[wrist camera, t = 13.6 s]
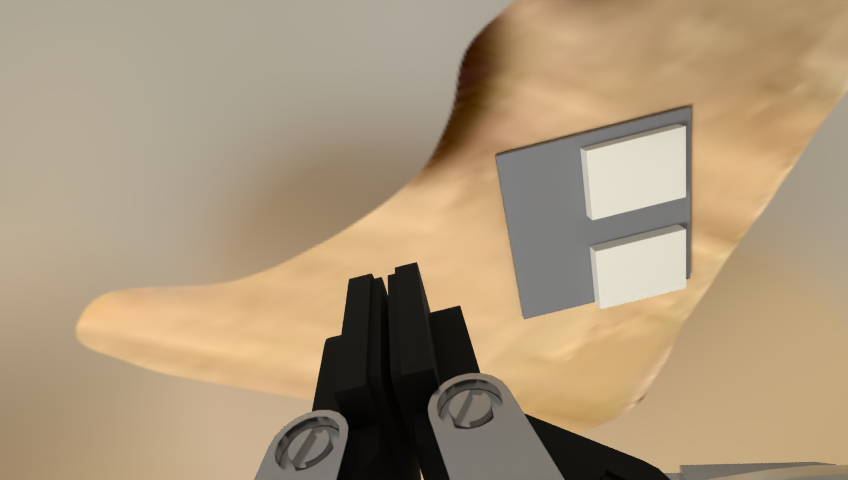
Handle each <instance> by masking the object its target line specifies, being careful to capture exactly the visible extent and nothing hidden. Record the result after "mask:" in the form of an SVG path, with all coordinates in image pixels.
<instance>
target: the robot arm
mask: <svg viewBox="0 0 848 480" xmlns="http://www.w3.org/2000/svg"><path fill="white" fill-rule="evenodd" d="M420 469H421V472H422V475H423V478H424V480H848V465H836V464H827V463H819V462H798V463H797V462H795V463H755V464H715V465H714V464H713V465H680V473H663V472H661V471H660V470H659V469H658V468H656V467H654V466H652V465H651V464H649V463H647V462H645V461H643V460H640V459H638V458H635V457H633V456H630V455H628V454H625V453H623V452H620V451H618V450H615V449H613V448H610V447H608V446H605V445H602V444H600V443H598V442H595V441H592V440H590V439H587V438H585V437H582V436H580V435H577V434H575V433H572V432H570V431H567V430H565V429H562V428H560V427H557V426H555V425H552V424H550V423H547V422H545V421H542V420H540V419H537V418H535V417H532V416H529V415H527V414H524V413H523V411H522V410H521V408H520V406H519V405H518V403H517V401H516V400H515V398H514V397H513V395H512V393H511V392H510V390H509V388H508V387H507V386H506V385H505V384H504V383H503V382H502V381H501V380H499V379H497V378H496V377H494V376H492V375H487V374H482V373H480V370H479V367H478V364H477V360H476V357H475V354H474V350H473V347H472V344H471V340H470V337H469V334H468V330H467V327H466V324H465V320H464V317H463V314H462V310H461V307H460V306H456V307H452V308H448V309H444V310H440V311H436V312H432V313H431V312H430V308H429V305H428V301H427V297H426V294H425V290H424V286H423V282H422V279H421V275H420V271H419V268H418V264H417V262H415V263H411V264H407V265H403V266H399V267H395V274H392V275H388V295H387V291H386V288H385V285H384V282H383V279H382V277H380V278H376V279H374V277H373V275H372V274H367V275H363V276H359V277H355V278H351V279H349V283H348V291H347V298H346V305H345V312H344V319H343V327H342V334H341V335H339V336H335V337H331V338H328V339H326V341H325V345H324V350H323V355H322V361H321V366H320V371H319V376H318V382H317V387H316V392H315V398H314V403H313V408H312V412H310V413H306V414H304V415H302V416H300V417H298V418H296V419H294V420H293V421H291V422H290V423H289V424H287V425H286V426H284V427H283V429H281V430H280V432H279V433H278V434H277V435H276V436H275V437H274V439H273V440H272V442H271V444H270V445H269V447H268V449H267V452H266V454H265V456H264V458H263V461H262V463H261V465H260V467H259V470H258V472H257V475H256V477H255V479H254V480H421V473H420Z"/></svg>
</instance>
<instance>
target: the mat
mask: <svg viewBox="0 0 848 480" xmlns="http://www.w3.org/2000/svg"><path fill="white" fill-rule="evenodd" d="M674 124H680V125H683V126H686V197H684V198H680V199H676V200H672V201H668V202H664V203H660V204H656V205H652V206H648V207H644V208H640V209H636V210H632V211H628V212H624V213H620V214H616V215H612V216H608V217H604V218H600V219H596V220H592V219H590V218H589V217H588V216H587V214H586V203H585V193H584V182H583V172H582V161H581V151H580V148H583V147H587V146H590V145H594V144H598V143H602V142H606V141H610V140H614V139H618V138H622V137H626V136H630V135H634V134H638V133H642V132H646V131H650V130H654V129H658V128H662V127H666V126H670V125H674ZM495 159H496V165H497V170H498V176H499V182H500V188H501V194H502V199H503V205H504V211H505V217H506V222H507V228H508V234H509V240H510V246H511V251H512V257H513V263H514V269H515V274H516V280H517V286H518V292H519V298H520V303H521V309H522V315H523V318H524V319H528V318H532V317H536V316H540V315H544V314H548V313H552V312H556V311H560V310H564V309H568V308H572V307H576V306H580V305H584V304H588V303H593V302H595V297H594V286H593V276H592V265H591V255H590V246H592V245H596V244H600V243H604V242H608V241H613V240H617V239H621V238H625V237H629V236H633V235H637V234H641V233H645V232H649V231H653V230H657V229H661V228H665V227H669V226H673V225H677V224H678V225H680V226H681V227H683V228H685V229H686V279H690V202H691V107H682V108H678V109H675V110H671V111H667V112H663V113H659V114H655V115H651V116H647V117H643V118H639V119H635V120H631V121H627V122H623V123H619V124H615V125H611V126H607V127H603V128H599V129H595V130H591V131H587V132H583V133H579V134H575V135H571V136H567V137H564V138H560V139H556V140H552V141H548V142H544V143H540V144H536V145H532V146H528V147H524V148H520V149H516V150H512V151H508V152H504V153H500V154H496V155H495Z"/></svg>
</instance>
